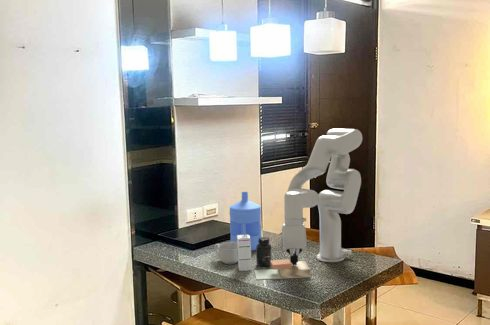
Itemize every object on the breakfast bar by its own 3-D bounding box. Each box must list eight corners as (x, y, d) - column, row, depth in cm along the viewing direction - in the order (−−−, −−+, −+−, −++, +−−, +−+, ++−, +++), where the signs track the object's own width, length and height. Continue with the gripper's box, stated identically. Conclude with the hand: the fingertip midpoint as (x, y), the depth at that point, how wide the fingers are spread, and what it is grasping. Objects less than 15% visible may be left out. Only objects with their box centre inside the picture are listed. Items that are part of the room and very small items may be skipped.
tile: (288, 263, 210) (288, 259, 210) (291, 268, 204) (291, 263, 204) (270, 265, 210) (270, 260, 209) (272, 269, 204) (272, 265, 203)
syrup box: (252, 270, 213) (251, 237, 211) (238, 271, 213) (237, 238, 211) (250, 266, 219) (250, 234, 217) (237, 266, 218) (236, 234, 217)
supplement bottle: (267, 268, 216) (266, 241, 214) (253, 265, 219) (253, 239, 218) (274, 263, 221) (274, 237, 220) (261, 261, 225) (260, 235, 224)
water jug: (233, 242, 256) (231, 189, 253) (263, 243, 254) (262, 189, 251) (228, 251, 241) (226, 195, 238) (260, 252, 239) (258, 195, 236)
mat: (305, 268, 214) (305, 267, 214) (310, 277, 203) (310, 276, 203) (254, 270, 213) (254, 270, 212) (256, 279, 202) (256, 279, 202)
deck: (305, 267, 214) (304, 260, 214) (310, 276, 203) (310, 269, 203) (277, 268, 213) (277, 262, 213) (281, 277, 202) (281, 270, 202)
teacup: (246, 261, 225) (246, 244, 224) (230, 267, 218) (229, 250, 217) (225, 255, 235) (224, 239, 234) (208, 261, 227) (208, 244, 226)
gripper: (309, 218, 210) (309, 260, 212) (274, 220, 209) (275, 262, 211) (313, 222, 202) (313, 266, 204) (277, 224, 201) (277, 267, 203)
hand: (294, 264), depth 208 cm, fingers closed
